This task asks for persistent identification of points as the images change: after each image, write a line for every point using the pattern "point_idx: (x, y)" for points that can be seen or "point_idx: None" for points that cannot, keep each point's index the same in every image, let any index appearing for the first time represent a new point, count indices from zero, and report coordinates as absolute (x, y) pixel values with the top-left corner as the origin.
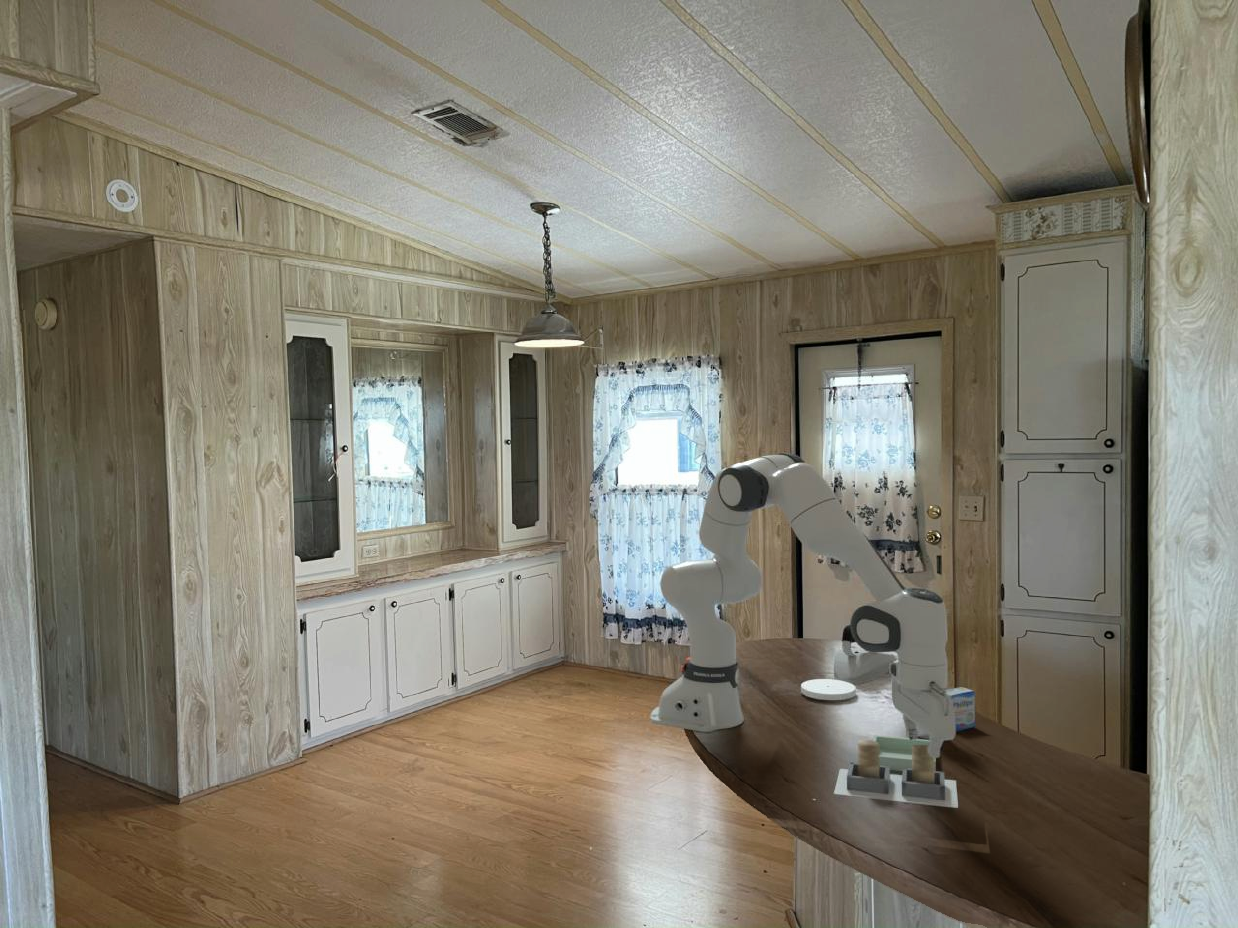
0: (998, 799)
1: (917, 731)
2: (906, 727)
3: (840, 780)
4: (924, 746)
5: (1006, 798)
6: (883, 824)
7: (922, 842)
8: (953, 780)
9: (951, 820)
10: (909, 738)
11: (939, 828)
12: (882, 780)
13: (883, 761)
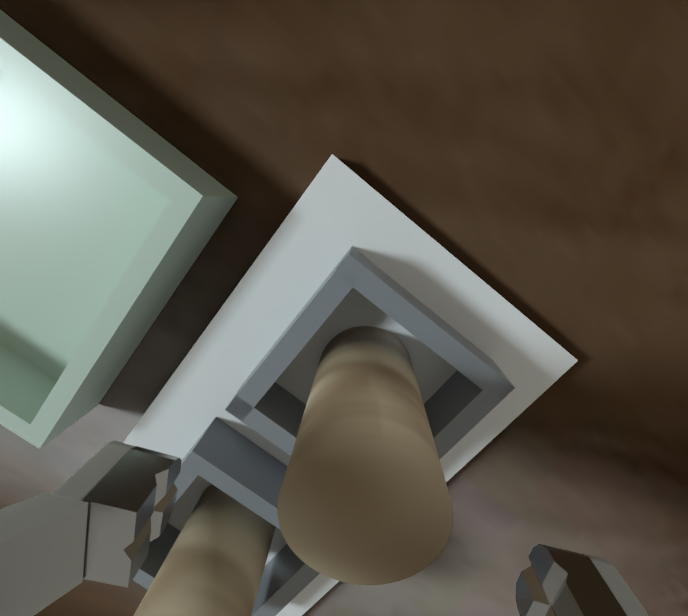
0: (554, 70)
1: (141, 505)
2: (55, 591)
3: None
4: (330, 482)
5: (566, 16)
6: (500, 606)
7: (662, 588)
8: (326, 165)
9: (597, 414)
10: (168, 518)
11: (621, 489)
12: None
13: (86, 391)
